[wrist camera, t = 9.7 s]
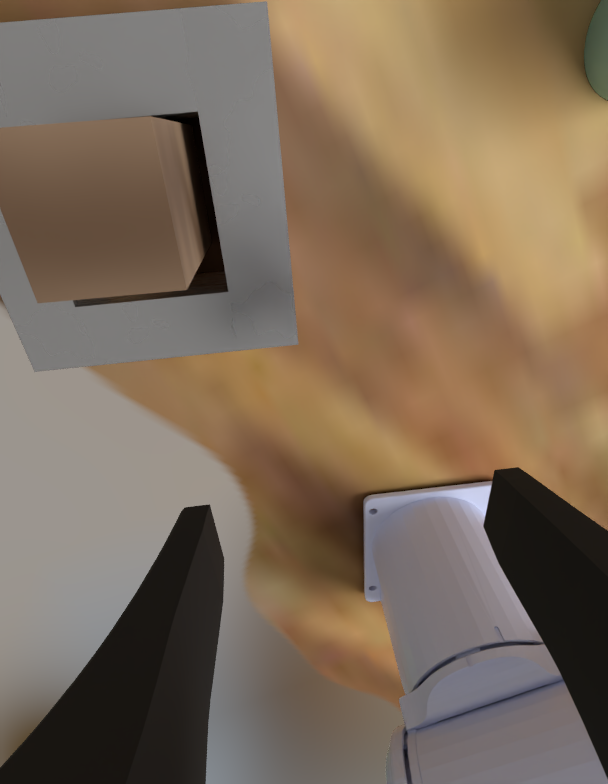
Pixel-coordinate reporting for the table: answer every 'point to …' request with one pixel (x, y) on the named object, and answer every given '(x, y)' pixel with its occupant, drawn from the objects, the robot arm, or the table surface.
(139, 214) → the square bit
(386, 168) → the table surface
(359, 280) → the table surface
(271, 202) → the socket block
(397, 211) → the table surface
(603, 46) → the round dowel
